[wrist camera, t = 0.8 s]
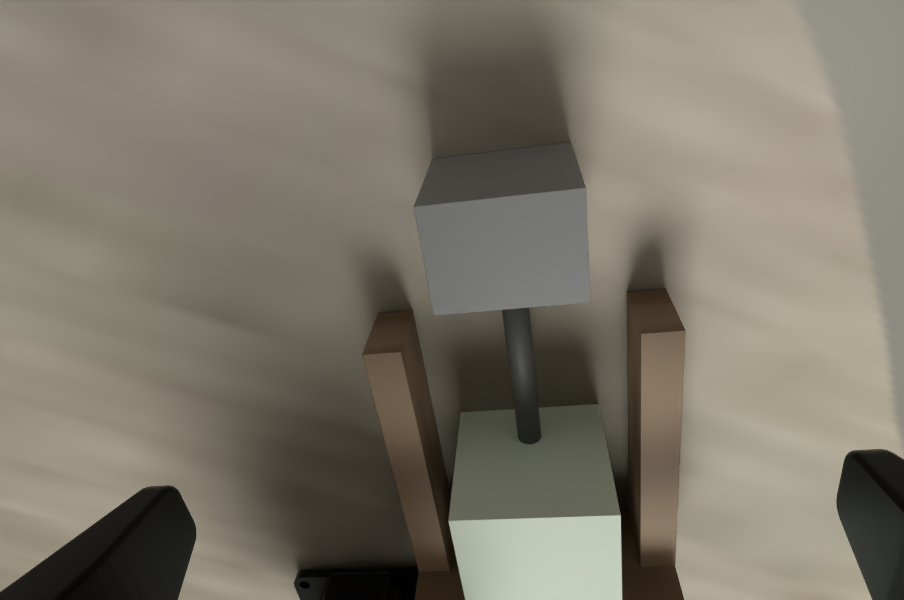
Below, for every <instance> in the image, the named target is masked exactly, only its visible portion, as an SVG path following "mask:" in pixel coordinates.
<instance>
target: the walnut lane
mask: <svg viewBox="0 0 904 600" xmlns="http://www.w3.org/2000/svg"><path fill="white" fill-rule="evenodd" d="M684 352H685V329H684V327H683V324H682V322H681V320H680V318H679V316H678V314H677V312H676V310H675V307H674V305H673V303H672V301H671V299H670V297H669V295H668V293H667V291H666V289H656V290H645V291H633V292H627V377H628V479H629V512H622V513H620V514H621V558H622V600H684V598H683V594H682V590H681V587H680V583H679V579H678V575H677V572H676V568H675V556H676V533H677V510H678V488H679V465H680V443H681V420H682V397H683V375H684ZM362 356H363V360H364V364H365V368H366V372H367V375H368V379H369V383H370V387H371V391H372V395H373V398H374V402H375V406H376V410H377V414H378V418H379V421H380V425H381V429H382V433H383V437H384V441H385V444H386V448H387V452H388V456H389V460H390V464H391V467H392V471H393V475H394V479H395V483H396V487H397V490H398V494H399V498H400V502H401V506H402V510H403V513H404V517H405V521H406V525H407V529H408V533H409V536H410V540H411V544H412V548H413V552H414V556H415V559H416V563H417V567H418V571H419V573H418V580H417V587H416V593H415V600H465V596H464V592H463V587H462V582H461V578H460V573H459V568H458V564H457V559H456V554H455V550H454V545H453V540H452V535H451V531H450V526H449V521H448V520H449V511H450V502H451V496H450V491H449V486H448V481H447V476H446V471H445V466H444V461H443V457H442V452H441V447H440V442H439V437H438V432H437V427H436V422H435V417H434V413H433V408H432V403H431V398H430V393H429V388H428V383H427V378H426V373H425V369H424V364H423V359H422V354H421V349H420V344H419V339H418V334H417V329H416V325H415V320H414V315H413V310H411V311H399V312H387V313H378V315H377V317H376V320H375V323H374V325H373V328H372V331H371V333H370V336H369V338H368V341H367V344H366V346H365V349H364V352H363V354H362Z"/></svg>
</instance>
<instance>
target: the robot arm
mask: <svg viewBox="0 0 904 600" xmlns="http://www.w3.org/2000/svg"><path fill="white" fill-rule="evenodd" d="M837 510H838V514H839V517H840V520H841V523H842V525H843V528H844V530H845V533H846V535H847V538H848V540H849V543H850V545H851V548H852V550H853V553H854V555H855V558H856V560H857V563H858V565H859V568H860V570H861V573H862V575H863V578H864V580H865V583H866V585H867V588H868V590H869V592H870V595H871V597H872V600H904V459H902V458H901V457H899V456H897V455H896V454H894V453H892V452H890V451H888V450H883V449H872V450H854V451H851V452H849V453H848V454H847V455H846V457H845V460H844V464H843V469H842V474H841V478H840V483H839V488H838V493H837ZM195 540H196V526H195V523H194V520H193V518H192V516H191V514H190V512H189V510H188V508H187V506H186V504H185V502H184V500H183V498H182V496H181V494H180V493H179V491H178V490H177V489H176V488H175V487H173V486H151V487H146V488H144V489H142V490H140V491H139V492H137V493H136V494H135V495H133V496H132V497H131V498H129V499H128V500H126V501H125V502H124V503H122V504H121V505H120V506H118V507H117V508H115V509H114V510H113V511H111V512H110V513H109V514H107V515H106V516H104V517H103V518H102V519H100V520H99V521H97V522H96V523H95V524H93V525H92V526H91V527H89V528H88V529H86V530H85V531H84V532H82V533H81V534H80V535H78V536H77V537H75V538H74V539H73V540H71V541H70V542H69V543H67V544H66V545H64V546H63V547H62V548H60V549H59V550H58V551H56V552H55V553H53V554H52V555H51V556H49V557H48V558H47V559H45V560H44V561H42V562H41V563H40V564H38V565H37V566H36V567H34V568H33V569H31V570H30V571H29V572H27V573H26V574H25V575H23V576H22V577H20V578H19V579H18V580H16V581H15V582H13V583H12V584H11V585H9V586H8V587H7V588H5V589H4V590H2V591H1V592H0V600H178V597H179V593H180V590H181V587H182V584H183V580H184V577H185V574H186V570H187V567H188V564H189V561H190V557H191V554H192V551H193V547H194V544H195ZM418 573H419V571H418V567H409V568H365V569H320V570H301V571H299V572H298V573H297V575H296V578H295V581H294V586H295V588H296V590H297V593H298V595H299V598H300V600H415V593H416V587H417V580H418Z"/></svg>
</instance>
